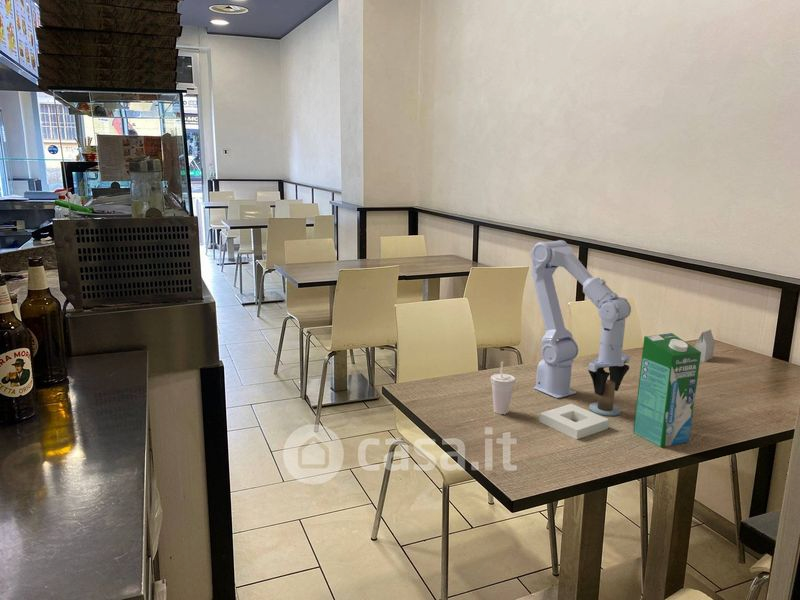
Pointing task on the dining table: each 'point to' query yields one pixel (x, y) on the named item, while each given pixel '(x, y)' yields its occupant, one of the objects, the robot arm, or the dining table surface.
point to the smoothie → (502, 391)
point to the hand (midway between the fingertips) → (606, 392)
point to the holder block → (563, 423)
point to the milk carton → (666, 390)
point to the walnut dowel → (607, 397)
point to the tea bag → (705, 345)
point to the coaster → (605, 413)
